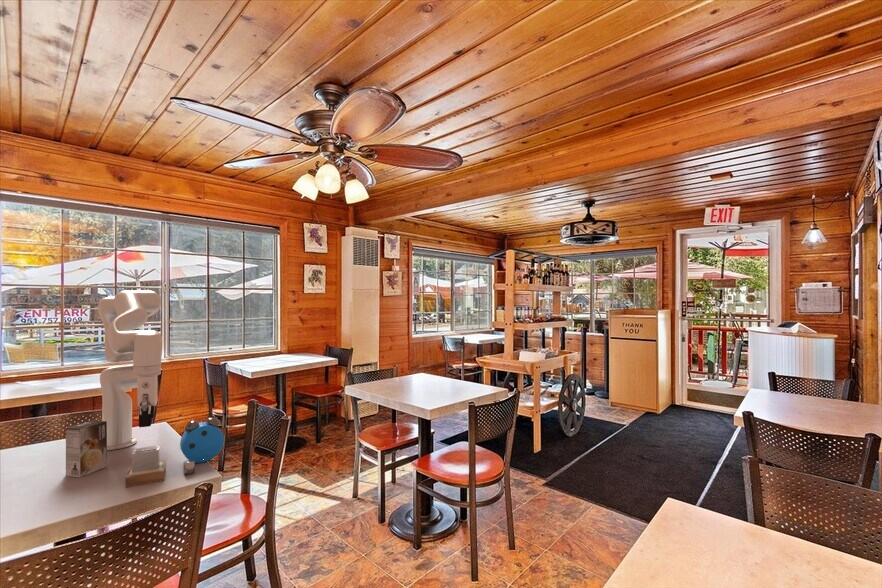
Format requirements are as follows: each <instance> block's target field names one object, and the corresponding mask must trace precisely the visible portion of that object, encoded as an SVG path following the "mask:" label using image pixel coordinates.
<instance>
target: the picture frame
mask: <svg viewBox="0 0 882 588" xmlns="http://www.w3.org/2000/svg"><path fill="white" fill-rule="evenodd" d="M166 464H167V462H166V460H162V461H160V463H159V468H157V469H151V470H146V471H140V472H134V473H132V465H131V466H129V468H128V470H127V472H126V475H125V480H124V482H125V484H124V487H125V488H130V487H136V486H140V485H146V484H152V483H157V482H164V481H165V476H166Z"/></svg>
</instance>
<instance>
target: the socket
mask: <svg viewBox="0 0 882 588" xmlns="http://www.w3.org/2000/svg"><path fill="white" fill-rule="evenodd" d="M195 464H196V462H195V460H188V459H187V460H185V461H184V462H183V476H187V477H188V475H189V476H192V475H195V473H196V471H195V470H196V466H195Z"/></svg>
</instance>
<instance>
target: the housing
mask: <svg viewBox="0 0 882 588" xmlns="http://www.w3.org/2000/svg"><path fill="white" fill-rule="evenodd" d="M160 446H161V445H151V446H146V447H140V448H134V449H133V450H132V453H131V466H132V473H134V472H140V471H146V470H151V469H157V468H159V463H160V462H161V461H160V456H161V455H160V451H161V450H160Z"/></svg>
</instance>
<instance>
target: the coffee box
mask: <svg viewBox="0 0 882 588" xmlns="http://www.w3.org/2000/svg"><path fill="white" fill-rule="evenodd" d="M107 460H108V450H107V421H102V420H89V421H86V422H83V423H78V424H75V425H71V426H67V427H66V428H65V476H66V477H72V478H73V477H74V478H83V477H84V476H87V475H89V474H92V473H94V472H97V471H100V470H102V469H104V468H107V467H108V461H107Z"/></svg>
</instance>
